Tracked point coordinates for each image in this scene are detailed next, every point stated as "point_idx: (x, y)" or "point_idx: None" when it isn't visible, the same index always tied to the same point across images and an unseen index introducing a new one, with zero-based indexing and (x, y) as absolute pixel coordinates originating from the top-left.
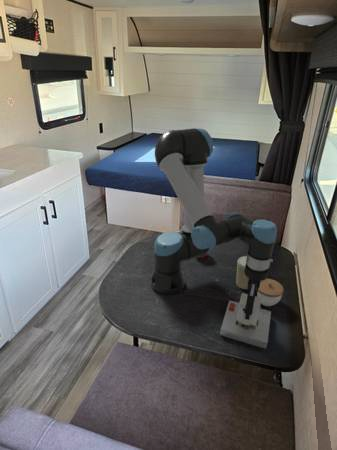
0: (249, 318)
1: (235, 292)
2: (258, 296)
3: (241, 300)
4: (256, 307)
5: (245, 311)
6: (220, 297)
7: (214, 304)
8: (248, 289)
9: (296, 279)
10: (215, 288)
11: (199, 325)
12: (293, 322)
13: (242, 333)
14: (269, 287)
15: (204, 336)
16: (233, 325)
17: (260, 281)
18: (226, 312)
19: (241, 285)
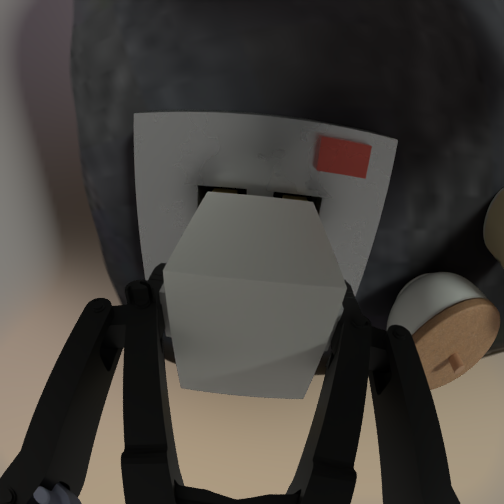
0: None
1: (470, 176)
2: (422, 297)
3: (218, 288)
4: (183, 375)
5: (84, 319)
6: (432, 95)
7: (373, 58)
8: (126, 494)
9: (484, 357)
10: (480, 80)
11: (182, 6)
12: (319, 366)
13: (148, 225)
14: (445, 357)
15: (122, 50)
16: (183, 175)
17: (488, 322)
18: (282, 122)
19: (499, 210)
